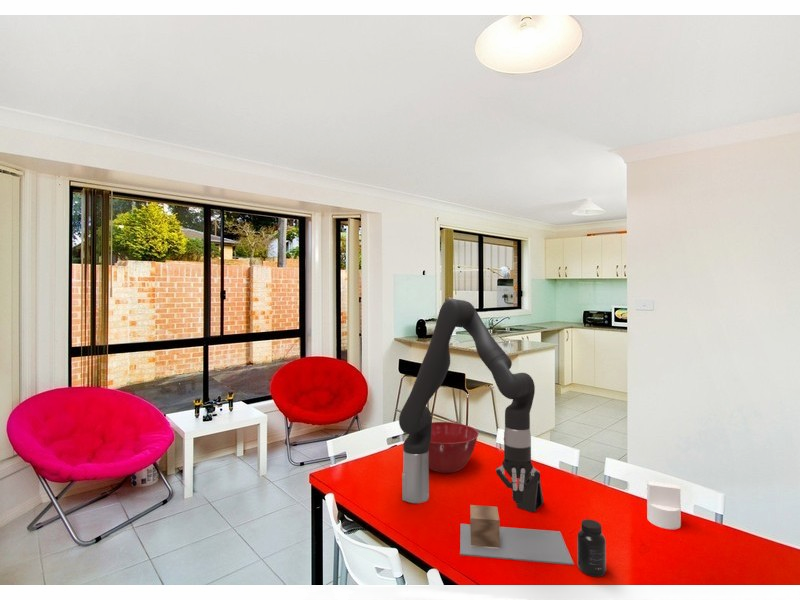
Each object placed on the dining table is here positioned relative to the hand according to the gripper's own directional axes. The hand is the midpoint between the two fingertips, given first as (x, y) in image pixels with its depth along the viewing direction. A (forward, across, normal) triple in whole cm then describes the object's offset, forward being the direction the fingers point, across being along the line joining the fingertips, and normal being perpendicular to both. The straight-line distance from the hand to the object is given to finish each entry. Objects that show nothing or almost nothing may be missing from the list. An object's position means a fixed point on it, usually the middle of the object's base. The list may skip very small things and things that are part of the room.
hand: (517, 502), depth 121 cm
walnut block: (+12, -10, 0) cm, 15 cm away
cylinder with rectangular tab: (+12, +47, +19) cm, 53 cm away
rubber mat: (+12, -2, 0) cm, 12 cm away
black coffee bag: (+12, +7, +25) cm, 28 cm away
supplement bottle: (+12, +18, -9) cm, 23 cm away
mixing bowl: (+12, -24, +54) cm, 60 cm away
